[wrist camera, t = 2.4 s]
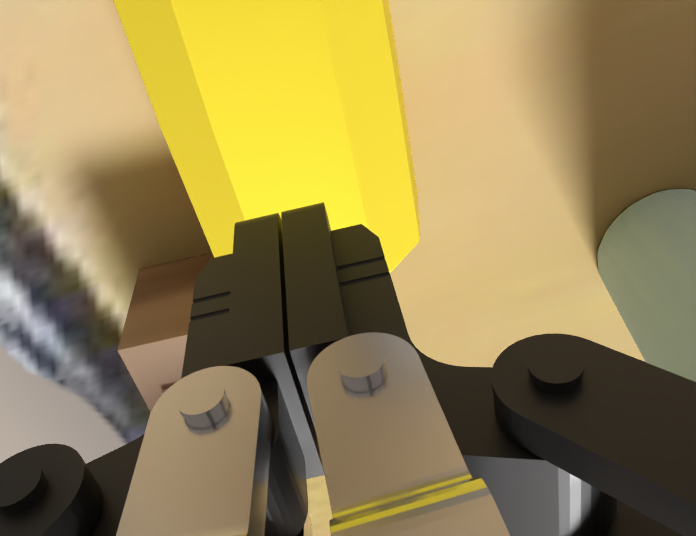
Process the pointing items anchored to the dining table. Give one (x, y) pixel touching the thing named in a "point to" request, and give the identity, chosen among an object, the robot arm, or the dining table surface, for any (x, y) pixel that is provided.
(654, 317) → the cup
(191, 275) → the walnut numbered block
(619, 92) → the dining table surface
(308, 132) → the yellow banana
